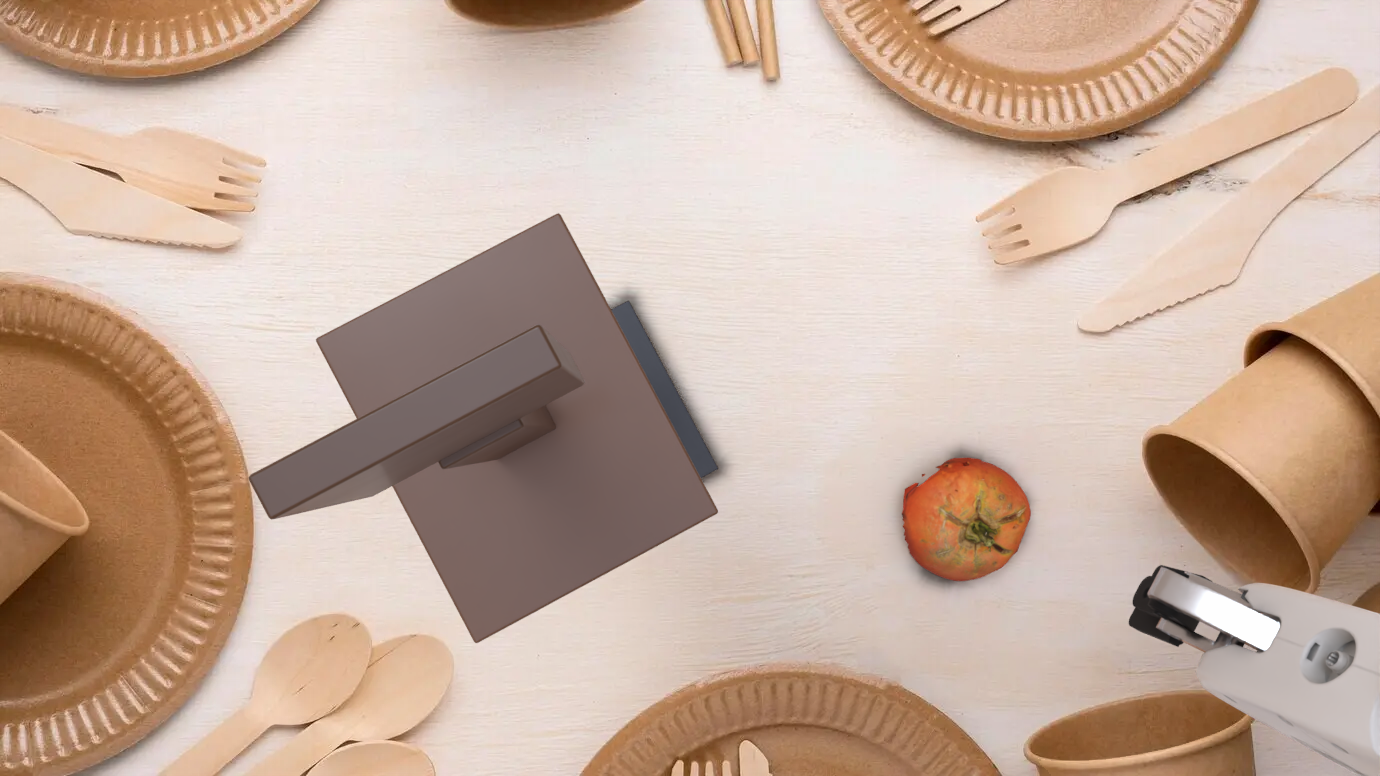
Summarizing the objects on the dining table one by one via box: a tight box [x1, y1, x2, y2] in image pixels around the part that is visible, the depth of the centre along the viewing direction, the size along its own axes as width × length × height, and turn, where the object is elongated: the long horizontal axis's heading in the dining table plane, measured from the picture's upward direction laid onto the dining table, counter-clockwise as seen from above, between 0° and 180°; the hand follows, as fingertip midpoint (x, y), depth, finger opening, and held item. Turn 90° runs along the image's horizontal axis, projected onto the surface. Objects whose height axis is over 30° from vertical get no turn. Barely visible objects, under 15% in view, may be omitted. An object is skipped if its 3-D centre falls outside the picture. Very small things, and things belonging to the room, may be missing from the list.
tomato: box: [901, 457, 1032, 582], centre depth 66 cm, size 8×7×7 cm
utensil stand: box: [248, 212, 719, 644], centre depth 42 cm, size 12×12×50 cm
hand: (1232, 644), depth 49 cm, fingers open, 8 cm apart
